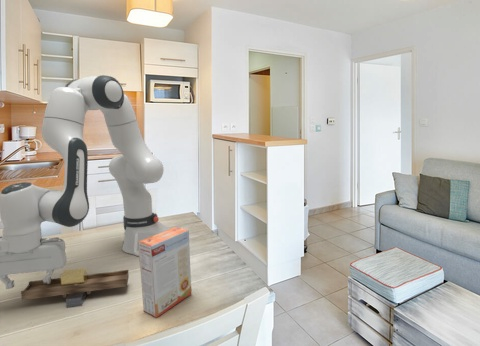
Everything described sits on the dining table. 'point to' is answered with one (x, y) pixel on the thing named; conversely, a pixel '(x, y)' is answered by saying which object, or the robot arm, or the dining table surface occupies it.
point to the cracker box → (165, 270)
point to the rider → (74, 277)
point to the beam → (76, 285)
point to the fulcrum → (75, 299)
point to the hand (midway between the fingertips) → (29, 285)
